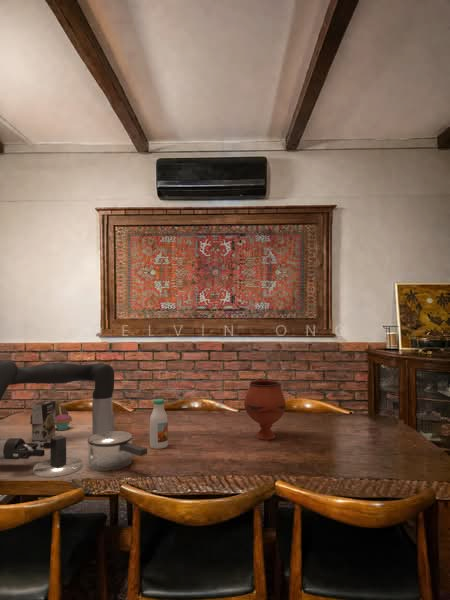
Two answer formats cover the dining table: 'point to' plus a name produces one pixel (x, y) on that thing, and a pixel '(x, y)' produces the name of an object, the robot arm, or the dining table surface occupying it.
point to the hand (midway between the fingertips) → (49, 449)
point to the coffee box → (43, 420)
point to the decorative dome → (56, 411)
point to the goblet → (265, 405)
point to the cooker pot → (112, 450)
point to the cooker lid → (57, 461)
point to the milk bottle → (158, 426)
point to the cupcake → (62, 421)
